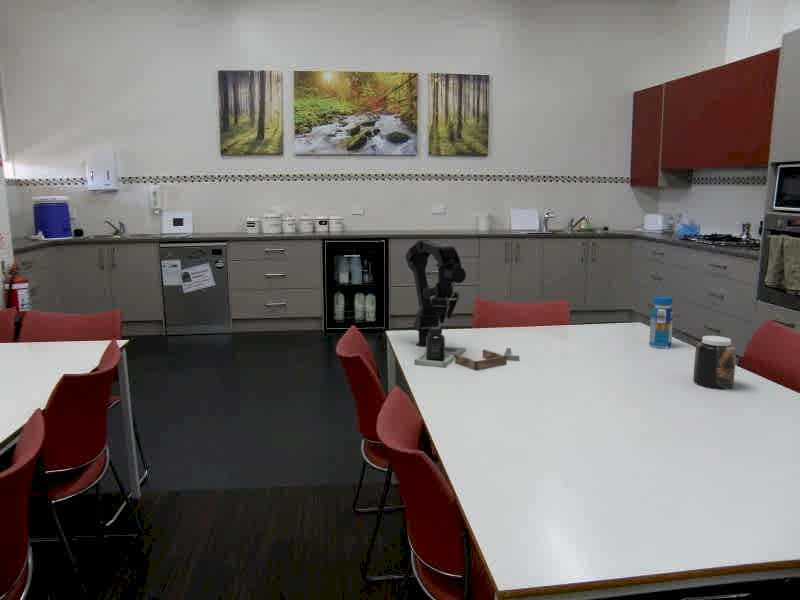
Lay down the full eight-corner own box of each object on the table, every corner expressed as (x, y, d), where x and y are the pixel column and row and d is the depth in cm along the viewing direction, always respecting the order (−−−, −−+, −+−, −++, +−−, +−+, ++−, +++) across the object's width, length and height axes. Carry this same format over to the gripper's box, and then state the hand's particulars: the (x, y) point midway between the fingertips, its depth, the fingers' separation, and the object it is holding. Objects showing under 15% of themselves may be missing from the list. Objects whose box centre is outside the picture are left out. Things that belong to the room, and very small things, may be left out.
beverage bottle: (644, 345, 259) (647, 296, 255) (659, 342, 262) (662, 294, 259) (660, 349, 251) (663, 299, 248) (676, 347, 255) (679, 297, 251)
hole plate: (440, 348, 254) (440, 346, 254) (465, 351, 251) (465, 348, 251) (433, 355, 245) (433, 352, 245) (458, 357, 242) (458, 354, 242)
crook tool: (506, 352, 249) (506, 348, 249) (521, 353, 248) (521, 349, 248) (503, 360, 238) (503, 356, 238) (519, 361, 236) (519, 356, 236)
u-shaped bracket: (455, 362, 234) (455, 354, 234) (484, 357, 242) (484, 349, 241) (476, 370, 225) (476, 362, 224) (506, 364, 232) (506, 356, 231)
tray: (424, 356, 243) (424, 352, 243) (454, 359, 239) (454, 354, 239) (414, 364, 232) (414, 359, 232) (445, 367, 228) (445, 362, 228)
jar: (691, 386, 206) (695, 340, 203) (694, 376, 216) (697, 333, 213) (733, 391, 200) (737, 344, 198) (733, 381, 211) (737, 336, 208)
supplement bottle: (448, 359, 236) (448, 327, 234) (439, 363, 231) (439, 330, 228) (431, 356, 240) (432, 325, 238) (422, 360, 234) (422, 328, 232)
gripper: (432, 275, 253) (433, 314, 256) (417, 282, 236) (417, 324, 239) (460, 276, 249) (460, 316, 252) (446, 283, 232) (446, 326, 235)
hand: (445, 320), depth 244 cm, fingers open, 9 cm apart
